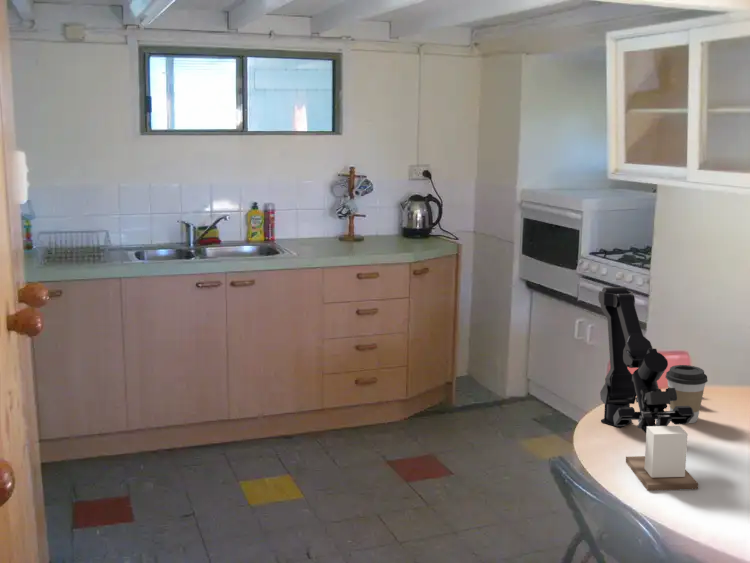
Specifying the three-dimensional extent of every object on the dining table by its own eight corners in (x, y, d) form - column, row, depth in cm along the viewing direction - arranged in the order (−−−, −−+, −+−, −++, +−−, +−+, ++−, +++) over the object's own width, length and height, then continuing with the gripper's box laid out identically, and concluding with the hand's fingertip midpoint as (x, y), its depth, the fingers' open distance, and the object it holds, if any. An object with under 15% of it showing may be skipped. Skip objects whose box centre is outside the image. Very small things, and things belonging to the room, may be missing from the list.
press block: (643, 467, 200) (645, 425, 197) (676, 466, 200) (678, 424, 197) (651, 477, 194) (654, 434, 192) (684, 476, 194) (687, 433, 192)
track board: (625, 462, 207) (626, 456, 207) (672, 460, 207) (672, 455, 207) (647, 490, 191) (647, 484, 191) (697, 489, 192) (698, 483, 191)
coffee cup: (701, 413, 239) (704, 364, 236) (708, 427, 228) (711, 376, 225) (660, 411, 242) (663, 362, 238) (665, 425, 231) (668, 375, 228)
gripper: (618, 376, 201) (631, 436, 192) (693, 375, 201) (709, 434, 192) (607, 396, 210) (619, 453, 201) (679, 394, 210) (694, 451, 202)
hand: (660, 448), depth 199 cm, fingers closed, pressing on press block
